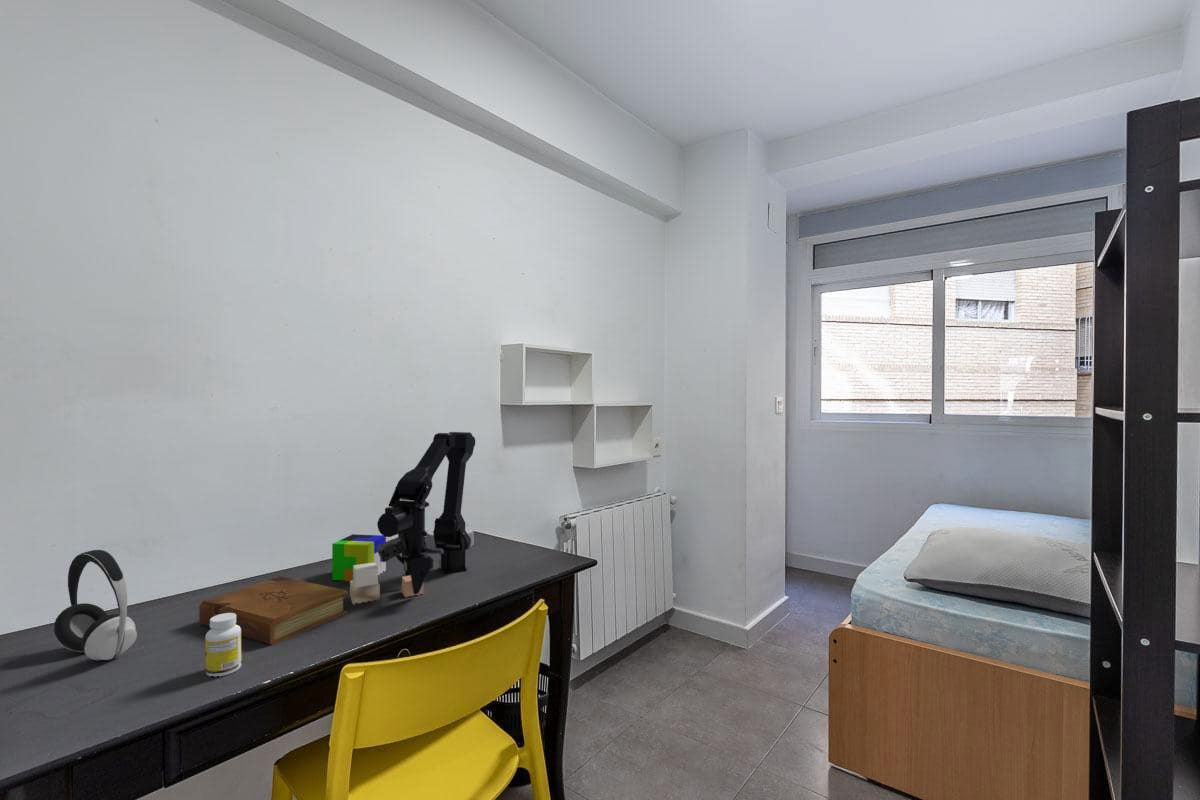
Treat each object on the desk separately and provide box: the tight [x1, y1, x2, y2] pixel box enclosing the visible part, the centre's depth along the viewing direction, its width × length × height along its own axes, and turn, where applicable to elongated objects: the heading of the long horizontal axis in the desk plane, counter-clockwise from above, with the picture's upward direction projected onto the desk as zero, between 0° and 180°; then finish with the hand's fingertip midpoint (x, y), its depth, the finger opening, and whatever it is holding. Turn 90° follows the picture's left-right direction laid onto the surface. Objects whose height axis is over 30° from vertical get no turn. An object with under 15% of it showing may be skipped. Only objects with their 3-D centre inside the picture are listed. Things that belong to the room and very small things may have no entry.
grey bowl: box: [425, 525, 475, 552], centre depth 186 cm, size 15×15×5 cm
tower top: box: [353, 563, 379, 587], centre depth 138 cm, size 5×5×4 cm
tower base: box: [349, 581, 381, 605], centre depth 138 cm, size 6×6×4 cm
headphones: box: [53, 549, 138, 661], centre depth 107 cm, size 19×8×20 cm, turn 65°
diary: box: [198, 576, 348, 646], centre depth 125 cm, size 23×19×6 cm
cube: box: [401, 575, 425, 598], centre depth 141 cm, size 4×4×4 cm
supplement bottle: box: [204, 613, 243, 678], centre depth 102 cm, size 5×5×10 cm
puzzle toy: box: [331, 533, 387, 582], centre depth 155 cm, size 10×10×10 cm
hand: (412, 588), depth 141 cm, fingers open, 8 cm apart
